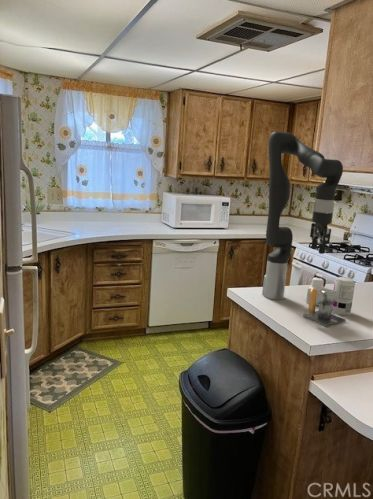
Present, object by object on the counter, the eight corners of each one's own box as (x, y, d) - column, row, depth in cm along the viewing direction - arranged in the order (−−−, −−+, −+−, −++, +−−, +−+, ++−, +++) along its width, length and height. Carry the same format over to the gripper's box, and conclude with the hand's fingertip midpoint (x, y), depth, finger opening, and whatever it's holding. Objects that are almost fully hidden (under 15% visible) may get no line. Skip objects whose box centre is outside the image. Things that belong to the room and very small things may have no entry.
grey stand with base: (302, 316, 168) (305, 299, 167) (321, 312, 175) (323, 295, 174) (327, 327, 159) (329, 309, 157) (345, 321, 166) (348, 304, 164)
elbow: (323, 305, 170) (326, 283, 168) (337, 310, 165) (340, 288, 163) (302, 310, 163) (305, 288, 161) (315, 315, 158) (319, 292, 156)
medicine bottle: (310, 298, 192) (313, 274, 189) (325, 302, 188) (328, 277, 186) (306, 303, 186) (309, 277, 183) (321, 306, 182) (325, 281, 180)
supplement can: (327, 311, 177) (331, 278, 173) (335, 307, 182) (340, 275, 179) (345, 317, 171) (350, 283, 168) (353, 312, 177) (358, 279, 173)
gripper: (307, 208, 167) (302, 246, 171) (321, 212, 154) (315, 255, 157) (324, 208, 168) (319, 247, 172) (340, 213, 154) (334, 255, 158)
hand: (317, 251), depth 165 cm, fingers open, 7 cm apart
